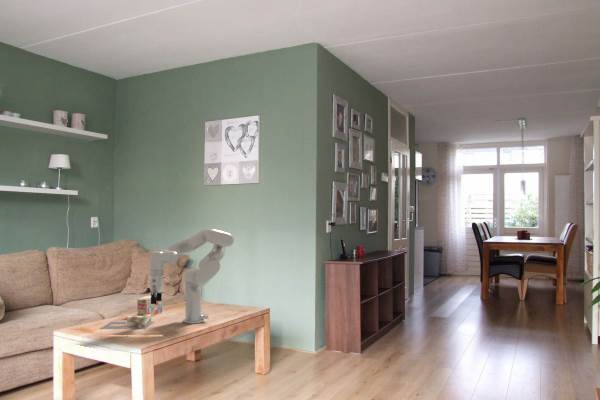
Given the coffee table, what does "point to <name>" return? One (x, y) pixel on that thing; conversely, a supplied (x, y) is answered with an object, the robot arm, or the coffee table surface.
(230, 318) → the coffee table surface
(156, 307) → the stack of blocks
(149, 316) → the T block
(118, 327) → the board
